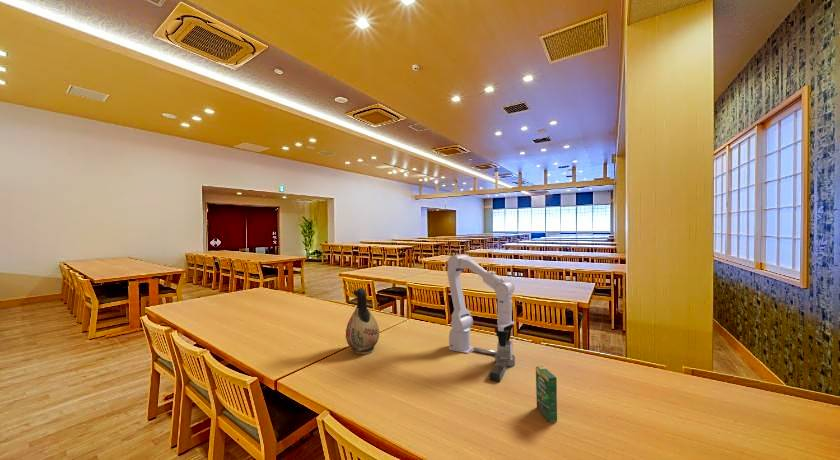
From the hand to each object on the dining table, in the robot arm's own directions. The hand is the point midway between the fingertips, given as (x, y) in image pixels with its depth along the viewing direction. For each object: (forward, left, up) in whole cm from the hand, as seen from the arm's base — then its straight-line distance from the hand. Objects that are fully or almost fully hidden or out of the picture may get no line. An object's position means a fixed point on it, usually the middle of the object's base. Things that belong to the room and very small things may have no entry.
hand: (504, 343), depth 128 cm
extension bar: (-10, +6, -9) cm, 14 cm away
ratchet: (0, -6, -8) cm, 11 cm away
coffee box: (+19, -29, -9) cm, 36 cm away
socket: (0, 0, -5) cm, 5 cm away
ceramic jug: (-61, -17, -9) cm, 64 cm away
